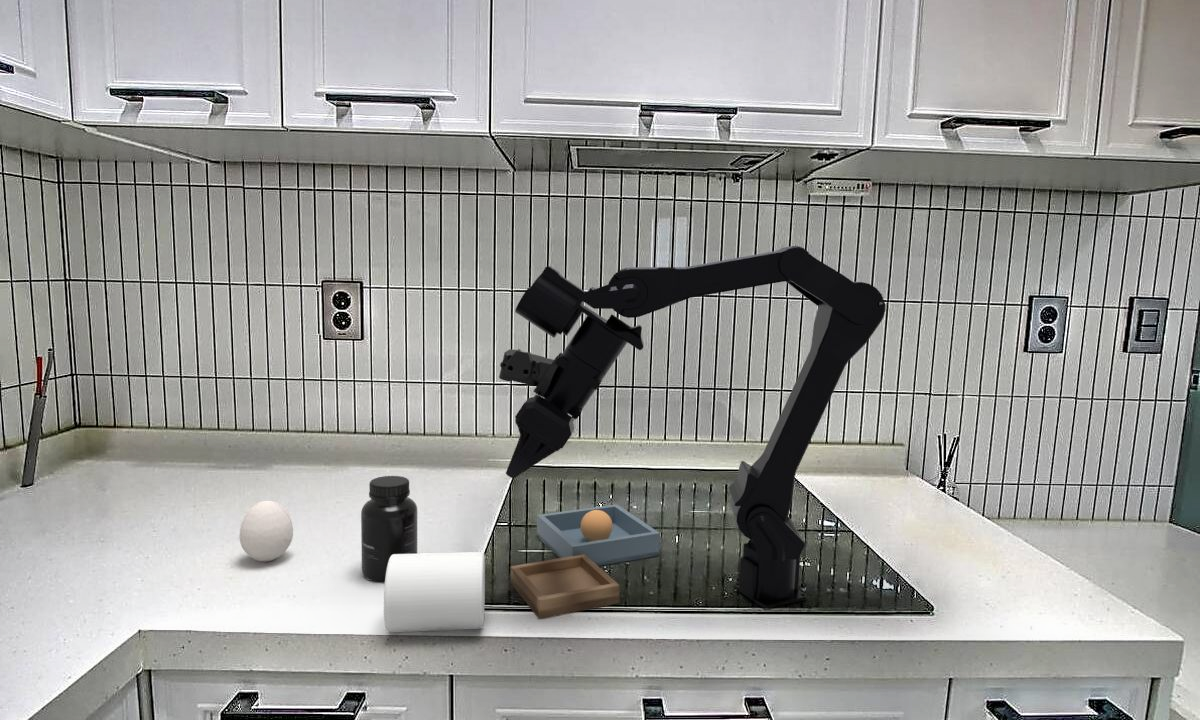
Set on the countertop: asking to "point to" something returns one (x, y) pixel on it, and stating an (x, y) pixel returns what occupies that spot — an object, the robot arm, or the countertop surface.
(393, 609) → the mug
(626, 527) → the dish
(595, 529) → the ball
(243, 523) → the egg
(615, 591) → the tray
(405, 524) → the supplement bottle
